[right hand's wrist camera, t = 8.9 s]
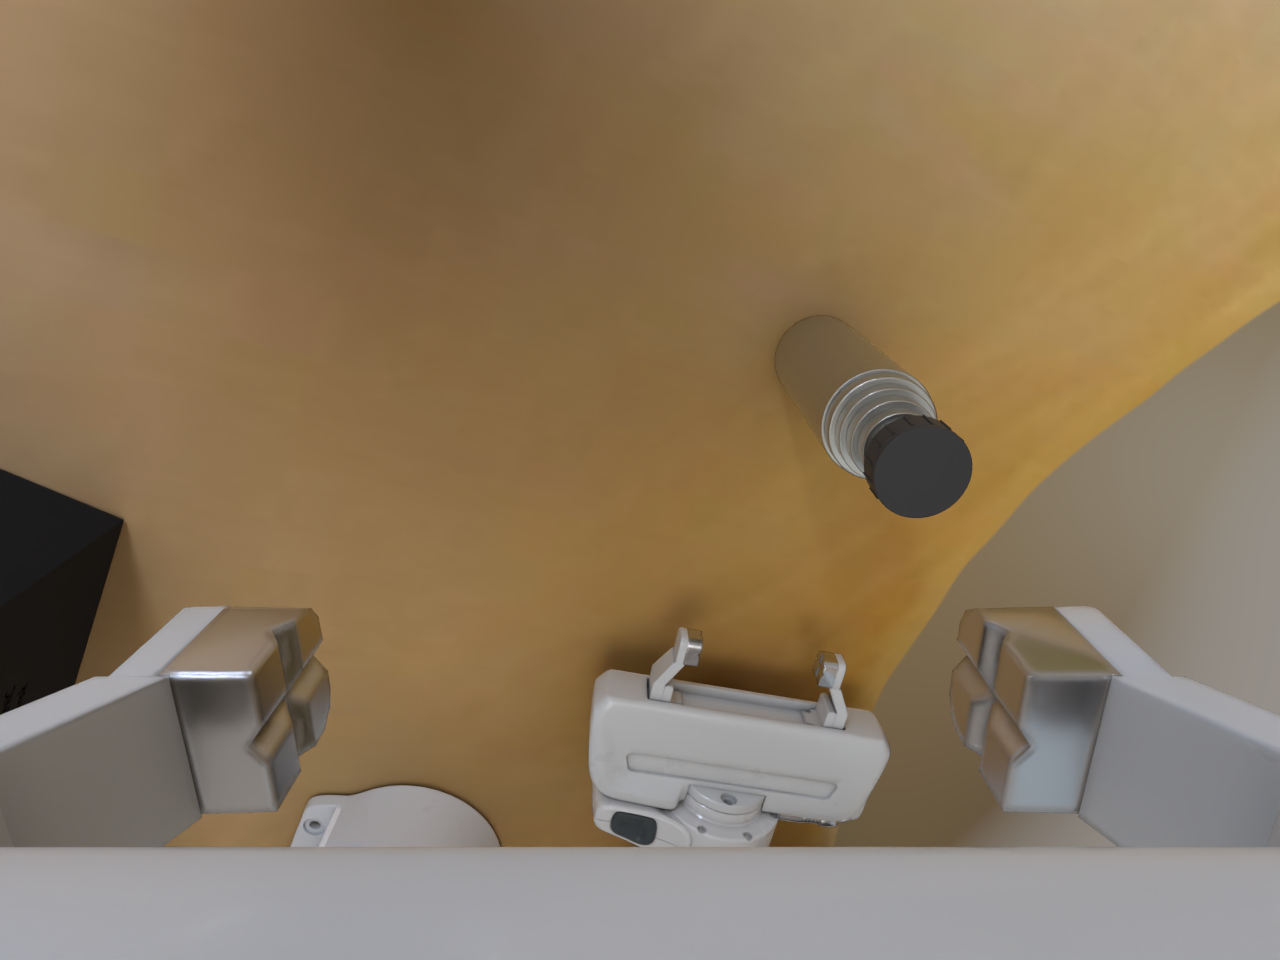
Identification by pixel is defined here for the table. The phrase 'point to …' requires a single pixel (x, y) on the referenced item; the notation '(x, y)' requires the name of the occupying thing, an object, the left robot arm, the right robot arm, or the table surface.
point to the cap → (917, 466)
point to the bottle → (845, 387)
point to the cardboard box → (47, 586)
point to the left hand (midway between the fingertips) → (762, 645)
